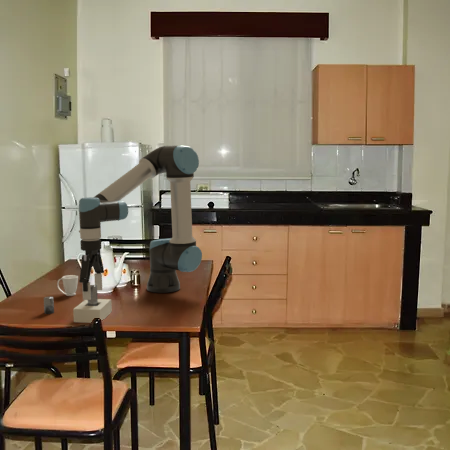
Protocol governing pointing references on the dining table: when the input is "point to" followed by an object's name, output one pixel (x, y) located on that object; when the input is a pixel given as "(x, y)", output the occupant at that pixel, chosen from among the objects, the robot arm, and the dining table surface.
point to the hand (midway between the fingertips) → (92, 294)
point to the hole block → (92, 311)
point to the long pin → (93, 296)
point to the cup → (69, 284)
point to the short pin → (48, 305)
